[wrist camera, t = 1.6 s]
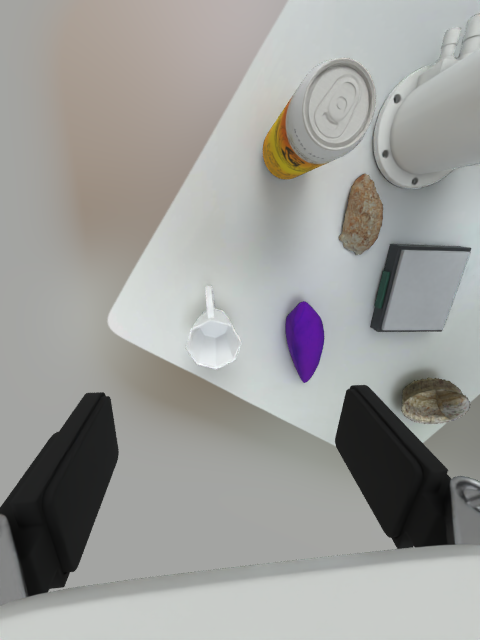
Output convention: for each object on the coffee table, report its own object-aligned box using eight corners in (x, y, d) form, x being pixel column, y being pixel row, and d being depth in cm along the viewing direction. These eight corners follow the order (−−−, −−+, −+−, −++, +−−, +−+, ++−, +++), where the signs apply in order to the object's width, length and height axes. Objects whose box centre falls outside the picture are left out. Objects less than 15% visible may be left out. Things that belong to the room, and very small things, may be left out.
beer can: (252, 161, 32) (280, 121, 18) (279, 110, 31) (334, 25, 17) (291, 190, 34) (344, 174, 20) (319, 143, 32) (399, 90, 18)
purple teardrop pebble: (295, 395, 42) (291, 312, 34) (287, 375, 46) (282, 297, 39) (324, 389, 42) (326, 305, 35) (313, 370, 46) (313, 292, 39)
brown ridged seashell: (422, 388, 41) (410, 362, 45) (391, 420, 48) (383, 394, 52) (487, 399, 41) (469, 372, 45) (447, 429, 47) (435, 403, 51)
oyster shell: (373, 175, 36) (344, 174, 34) (398, 171, 32) (368, 169, 31) (362, 253, 39) (336, 255, 38) (384, 255, 36) (356, 259, 34)
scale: (387, 244, 38) (399, 246, 35) (459, 246, 39) (475, 248, 36) (367, 326, 43) (376, 333, 40) (432, 326, 44) (444, 333, 41)
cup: (193, 343, 41) (189, 372, 33) (184, 281, 37) (176, 298, 30) (238, 339, 41) (243, 366, 34) (233, 276, 38) (238, 292, 30)
